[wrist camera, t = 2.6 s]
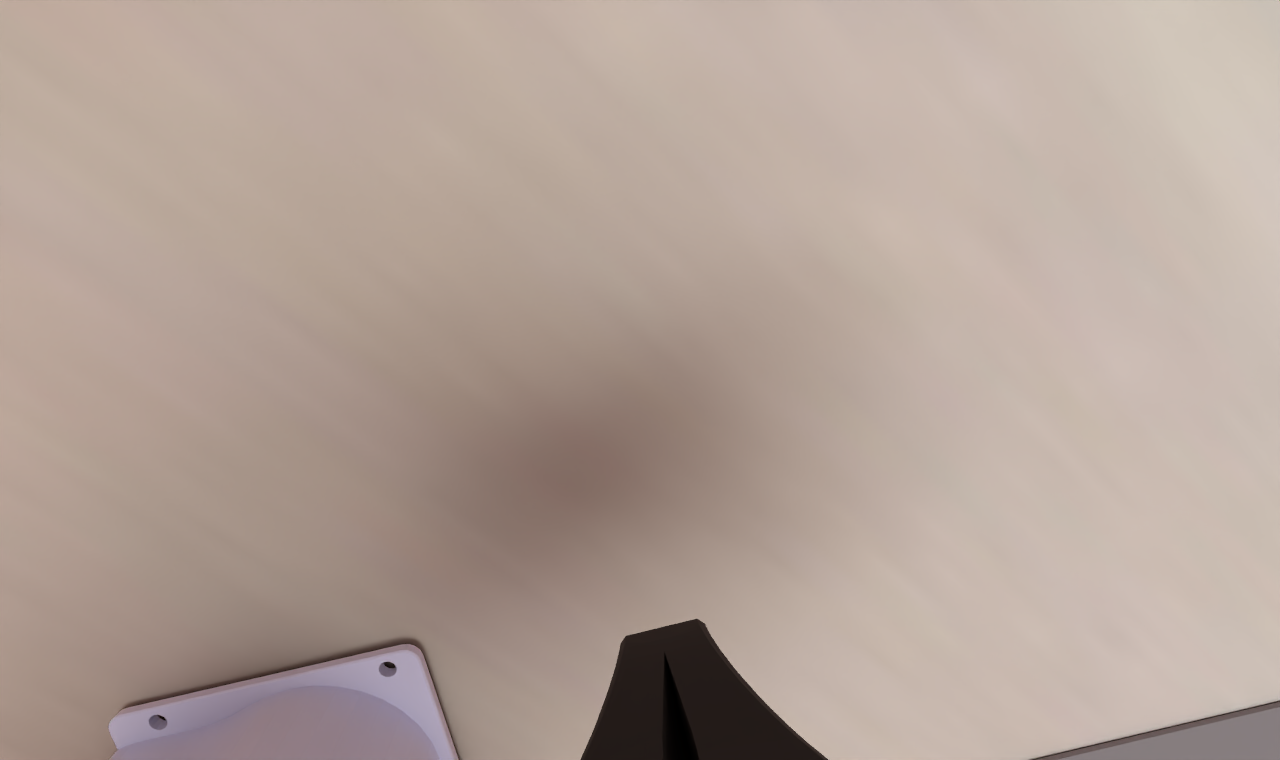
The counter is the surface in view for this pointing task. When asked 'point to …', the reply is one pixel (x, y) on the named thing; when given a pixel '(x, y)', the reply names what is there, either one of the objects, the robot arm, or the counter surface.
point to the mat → (1197, 740)
